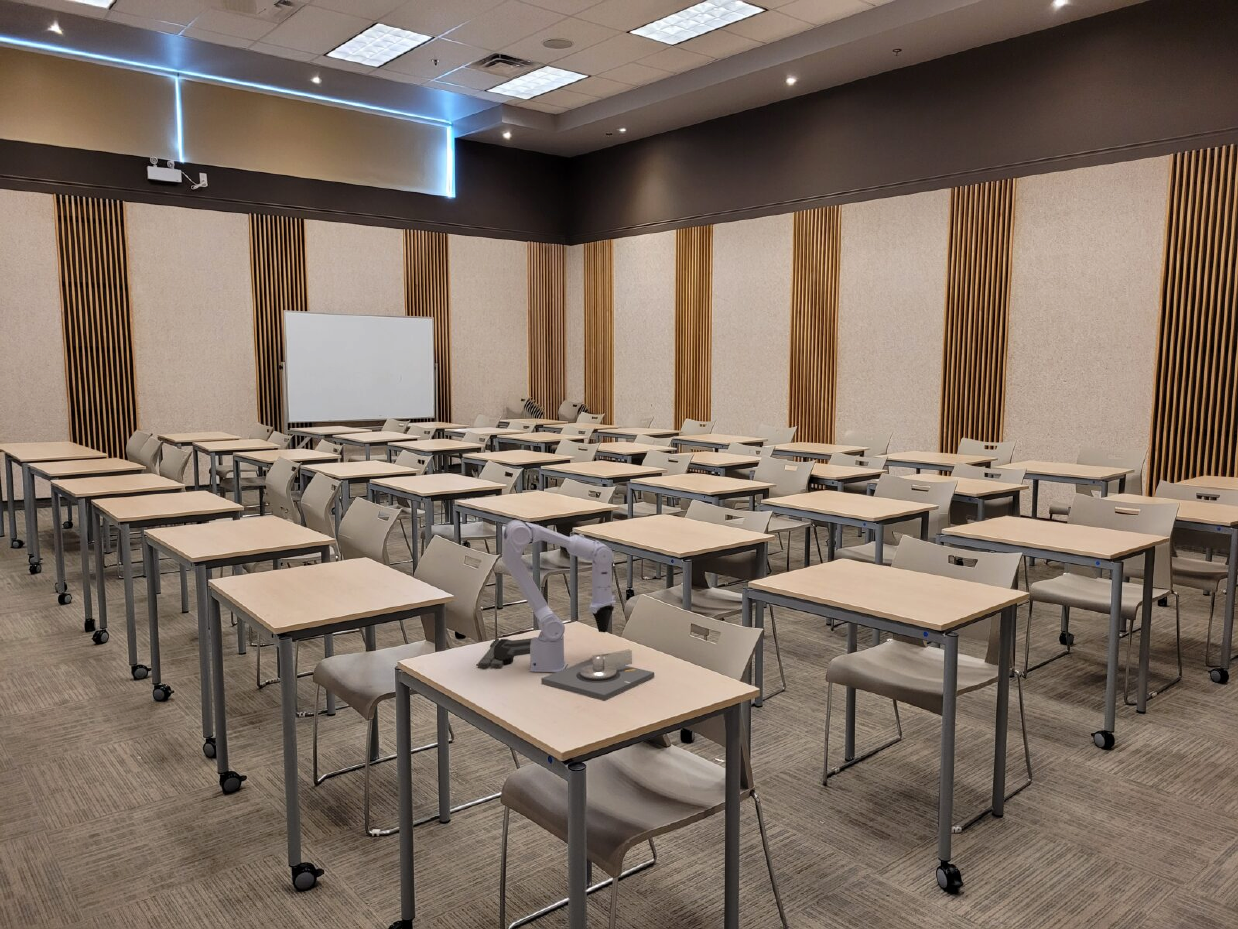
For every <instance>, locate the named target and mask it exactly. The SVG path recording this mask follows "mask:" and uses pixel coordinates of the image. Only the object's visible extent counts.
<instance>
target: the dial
mask: <svg viewBox="0 0 1238 929" xmlns="http://www.w3.org/2000/svg"><path fill="white" fill-rule="evenodd" d="M592 658H593V665H587V666H584V667H582V668H581V669H580V676H581V677H583V678H586V679H590V680H604V679H609V678H612V677H614V676H616V668H615V667H620V666H624V665H625V666H629V665H632V664H633V650H631V649H630V648H629V649H624V650H619V651H614V652H613V651H612V652H610V653H609V652H608V653H604V654H595V655H594V654H593V655H592Z"/></svg>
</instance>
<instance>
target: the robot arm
mask: <svg viewBox="0 0 1238 929" xmlns="http://www.w3.org/2000/svg"><path fill="white" fill-rule="evenodd" d="M540 541H543V542H547V543H550V544H553V545H556V546H559V547H562V548H566V551H567V554H569V555H572V556H575V557H577V558H581V559H584V560H586V561H592V562H591V563H592V565H591V566H592V567H591V568H592V569H591V578H592V579H591V581H592V582H591V583H592V584H591V586H592V587H591V588H592V590H591V591H592V593H591V595H592V598H591V602H590V605H589V606H588V608H589V610H588V612H589V614H592V615H593V618H594V620H595V622H596V623H595V624H596V626H597V631H598V633H603V634H605V633H606V632H608V628H609V624H610V618H611V616H612V613H613V612H614V609H615V607H614V606H613V605H616V603H617V600H616V595H615V594H613V570H612V569H613V568H612V563H613V562H614V560H615V555H614V552H613V550H612V549H611V548H610V547H609V546H608V545H606V544H604V543H603V542H600V541H599V540H595V541H594V540H591V539H588V538H587V537H585V535H583V534H582V533H579V534H574V535H571V536H567V535H564V534H562V533H560V532H557V531H555V530H551V529H549V528H547V527H545V526H541V525H538V524H535V523H531V522H525V523H524V522H523V521H521V520H520V519H514V520H513V519H512V520H511V521H509V522H508V523H507V524H506V526H505V528H504V531H503V533H502V550H501V551H502V552H501V560H502V561H503V563H504V565H505V567H506V569H507V570H508V572H509V573H510V575H511V577H512V578H513V580H514V582H515V584H516V585H517V587H518V589H519V590H520V592H521V593H522V596H524V597H523V598H525V600H526V602H527V603H528V605H529V607H530V609H531V610H532V612H533V614H534V616H535V617H536V619H537V626H538V629H539V630H540V632H539V634H538V636H535V637H531V638H532V640H531V645H530V654H529V658H530V659H529V660H530V662H529V664H530V669H529V672H535V673H537V672H538V673H556V672H558V671H561V670H564V669H566V667H567V666H568V664H569V662H566V661H565V642H564V641H565V636H564V634H565V631H566V628H565V624H564V622H563V621H562V620H561V619H560V618H559V616H558V615H557V613H556V612H554V611H552V609H551V608H550V606H549V604H548V602H547V601H546V599H545V597H544V596H543V594H542V592H541V591H540V589H539V587H538V586H537V584H536V583H535V581H534V579H533V577H532V576H531V573H530V572H529V571H528V569H527V567H526V566H525V564H524V562H523V561H522V557H523V554H524V552H525V550H526V548H527V546H528V545H529V544H530V542H531V543H532V544H534V543H537V542H540Z"/></svg>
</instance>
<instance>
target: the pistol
mask: <svg viewBox="0 0 1238 929" xmlns="http://www.w3.org/2000/svg"><path fill="white" fill-rule="evenodd" d="M532 638H533V637H531V638H530V637H529V638H523V639H521V638H520V639H515V640H514V639H513V640H512V639H508V638H496V637H495V639H494V640H495V641H494V640H493V641H492V642H491V643H490V645H489V649H488V651H487V652H485V654H484V655H483V656H482V657H481V659H480V660H479V661H478V663H477V664H475V666H477V669H481V670H486V669H497V670H501V669H502V668H504V666H508V665H512V663H513V662H514V658H515V657H518V656H525V655H530V645H531V640H532Z"/></svg>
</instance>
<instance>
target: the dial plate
mask: <svg viewBox="0 0 1238 929" xmlns="http://www.w3.org/2000/svg"><path fill="white" fill-rule="evenodd" d="M587 665H593V657H591V658H589V659H587V660H584V661H581V662H580V663H576V664H574V665H572V666H569V667H567V668H565V669H564V670H561V671H558V672H552V673H551V674H548V675H546V676H544V677H541V679H540V680H541V681H540V682H541V684H542V685H544V686H545V685H546V686H547V687H548V686H549V687H552V688H555V689H556V688H557V689H560V690H563V691H567V692H571V693H575V694H579V695H582V696H586V697H589V698H593V699H597V700H601V701H605V702H606V701H607V700H609V699H611V698H613V697H615V696H618V695H620V694H622V693H625V692H627V691H628V690H631V689H632V688H635V687H637V686H639V685H642V684H643V683H646V682H648V681H650V680H652V679H654V678H655V672H654V671H650V670H646V669H642V668H638V667H634V666H629V665H624V666H620V667H615V668H616V676H614V677H612V678H609V679H604V680H590V679H586V678H583V677H581V676H580V669H581V668H582V667H584V666H587Z"/></svg>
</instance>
